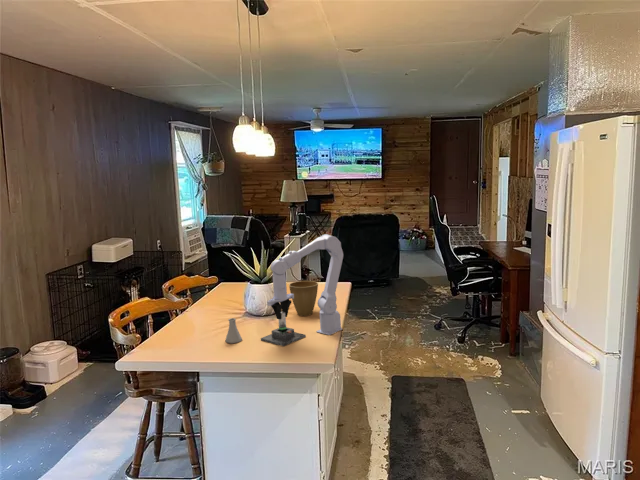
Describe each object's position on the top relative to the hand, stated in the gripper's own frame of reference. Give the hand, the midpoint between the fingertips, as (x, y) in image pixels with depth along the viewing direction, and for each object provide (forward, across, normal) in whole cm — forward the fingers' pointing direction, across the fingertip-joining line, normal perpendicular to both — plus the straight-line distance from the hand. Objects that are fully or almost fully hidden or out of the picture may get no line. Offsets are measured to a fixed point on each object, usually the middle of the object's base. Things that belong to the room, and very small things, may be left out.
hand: (282, 317), depth 212 cm
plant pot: (+10, -33, -17) cm, 38 cm away
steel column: (+5, 0, 0) cm, 5 cm away
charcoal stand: (+10, 0, 0) cm, 10 cm away
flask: (+10, +14, -17) cm, 24 cm away
